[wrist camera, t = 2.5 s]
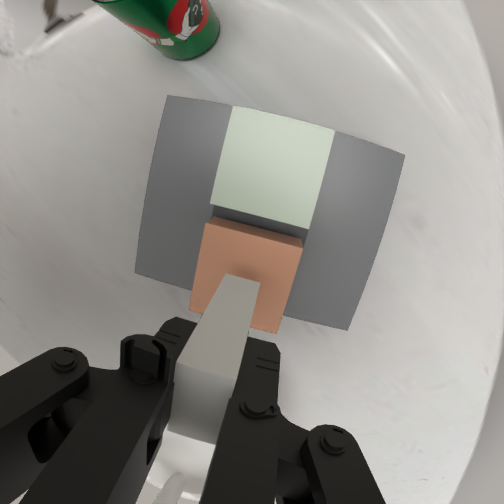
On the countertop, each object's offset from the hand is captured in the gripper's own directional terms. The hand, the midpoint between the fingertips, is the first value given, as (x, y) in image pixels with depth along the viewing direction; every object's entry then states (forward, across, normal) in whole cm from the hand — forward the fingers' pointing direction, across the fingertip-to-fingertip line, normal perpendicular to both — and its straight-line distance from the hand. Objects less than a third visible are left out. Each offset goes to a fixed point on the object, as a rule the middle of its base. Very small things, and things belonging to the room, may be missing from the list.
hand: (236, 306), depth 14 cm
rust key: (+5, 0, 0) cm, 5 cm away
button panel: (+10, 0, +3) cm, 11 cm away
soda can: (+11, -9, +15) cm, 21 cm away
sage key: (+5, 0, +6) cm, 8 cm away
